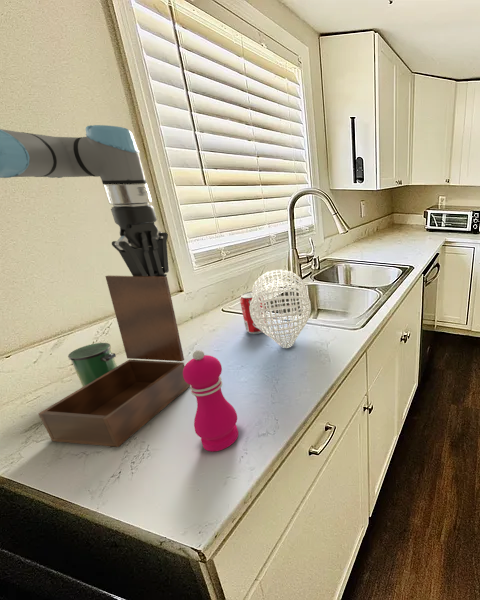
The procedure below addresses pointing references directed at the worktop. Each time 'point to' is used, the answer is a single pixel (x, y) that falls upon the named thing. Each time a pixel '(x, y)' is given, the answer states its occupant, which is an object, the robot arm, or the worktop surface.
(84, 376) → the green pot
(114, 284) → the lid
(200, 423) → the pepper mill
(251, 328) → the soda can
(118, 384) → the chest
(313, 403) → the worktop surface
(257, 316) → the heart
